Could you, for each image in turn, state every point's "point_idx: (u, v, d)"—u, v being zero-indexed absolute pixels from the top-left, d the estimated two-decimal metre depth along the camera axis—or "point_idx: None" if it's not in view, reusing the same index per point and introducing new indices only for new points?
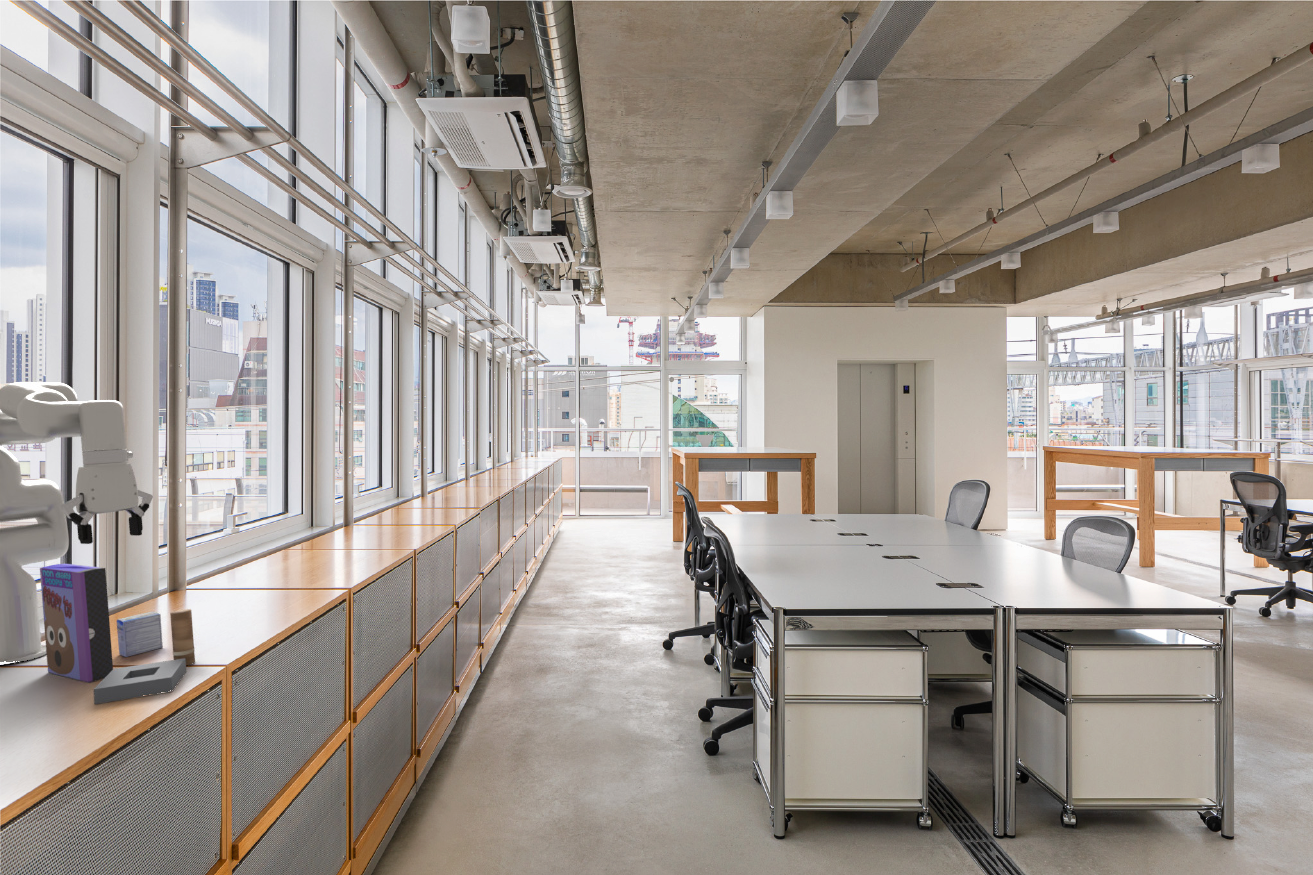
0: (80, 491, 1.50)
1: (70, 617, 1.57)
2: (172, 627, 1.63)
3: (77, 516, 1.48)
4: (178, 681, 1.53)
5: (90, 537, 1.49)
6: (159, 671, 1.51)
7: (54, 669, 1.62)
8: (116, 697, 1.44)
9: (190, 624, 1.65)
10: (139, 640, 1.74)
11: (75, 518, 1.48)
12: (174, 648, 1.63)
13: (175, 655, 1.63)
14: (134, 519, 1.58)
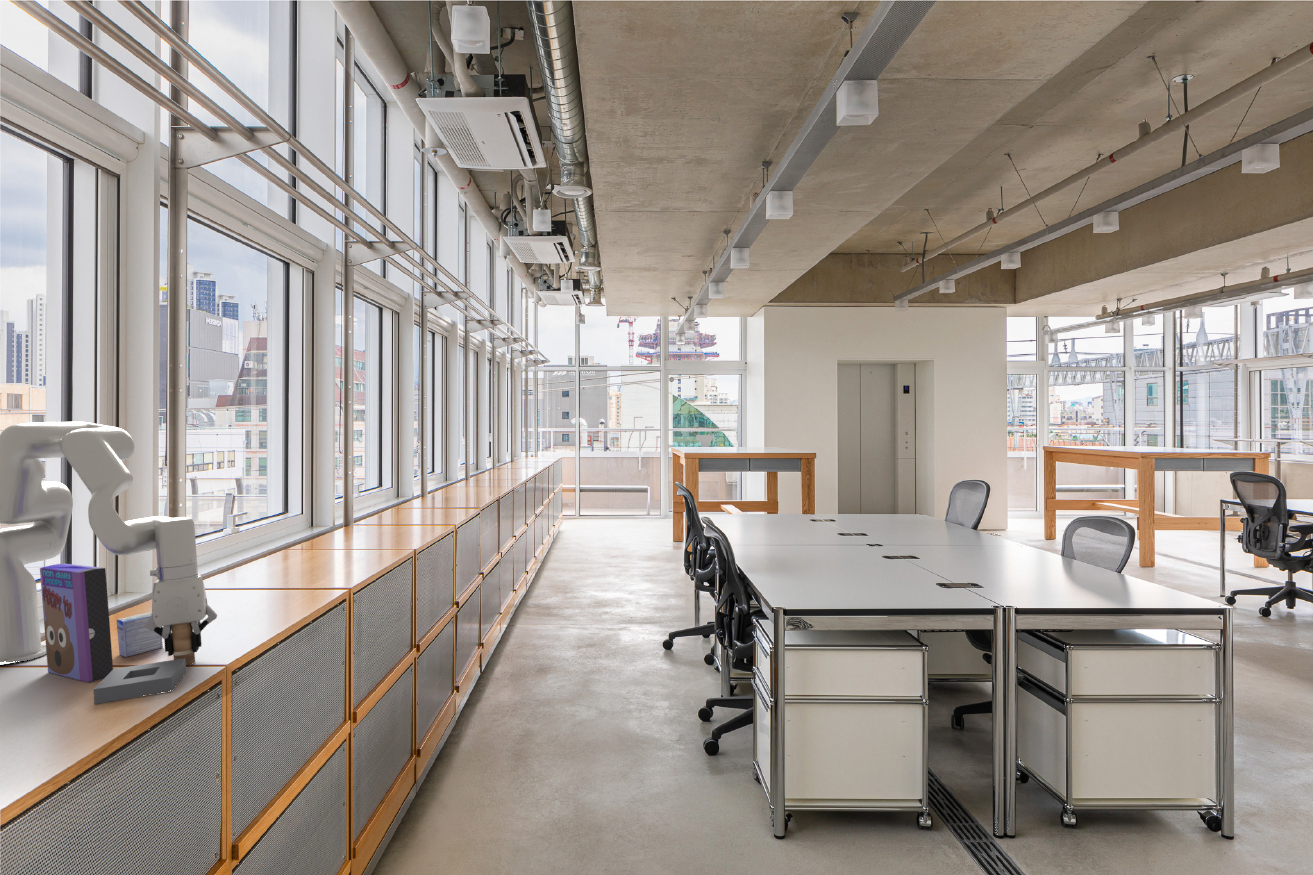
0: (205, 597, 1.66)
1: (70, 617, 1.57)
2: (172, 627, 1.63)
3: None
4: (178, 681, 1.53)
5: None
6: (159, 671, 1.51)
7: (54, 669, 1.62)
8: (116, 697, 1.44)
9: (190, 624, 1.65)
10: (139, 640, 1.74)
11: None
12: (174, 648, 1.63)
13: (175, 655, 1.63)
14: None
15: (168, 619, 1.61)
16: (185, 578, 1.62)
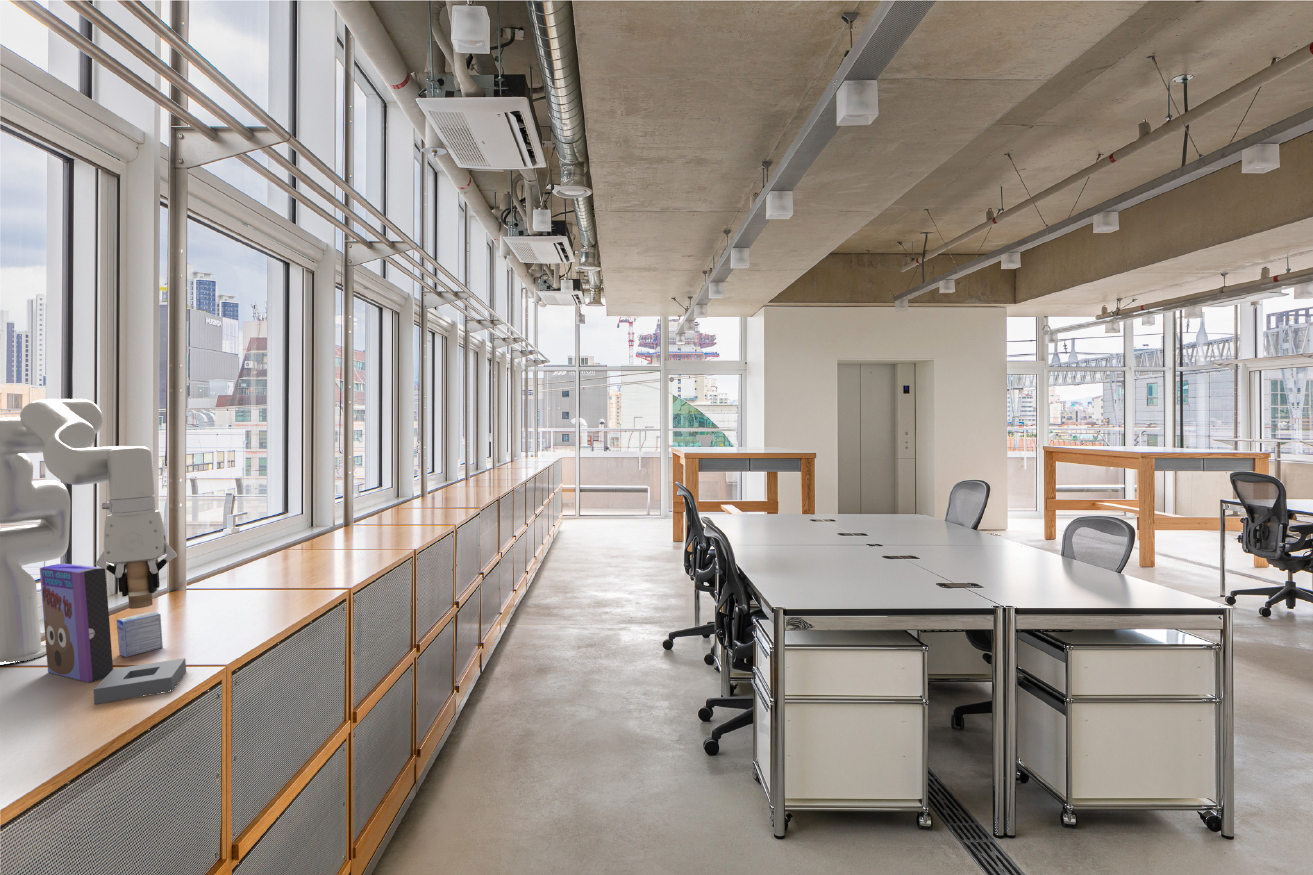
0: (163, 533, 1.53)
1: (70, 617, 1.57)
2: (127, 565, 1.50)
3: None
4: (178, 681, 1.53)
5: None
6: (159, 671, 1.51)
7: (54, 669, 1.62)
8: (116, 697, 1.44)
9: (147, 563, 1.51)
10: (139, 640, 1.74)
11: None
12: (129, 588, 1.50)
13: (130, 596, 1.50)
14: None
15: (122, 556, 1.48)
16: (140, 511, 1.49)
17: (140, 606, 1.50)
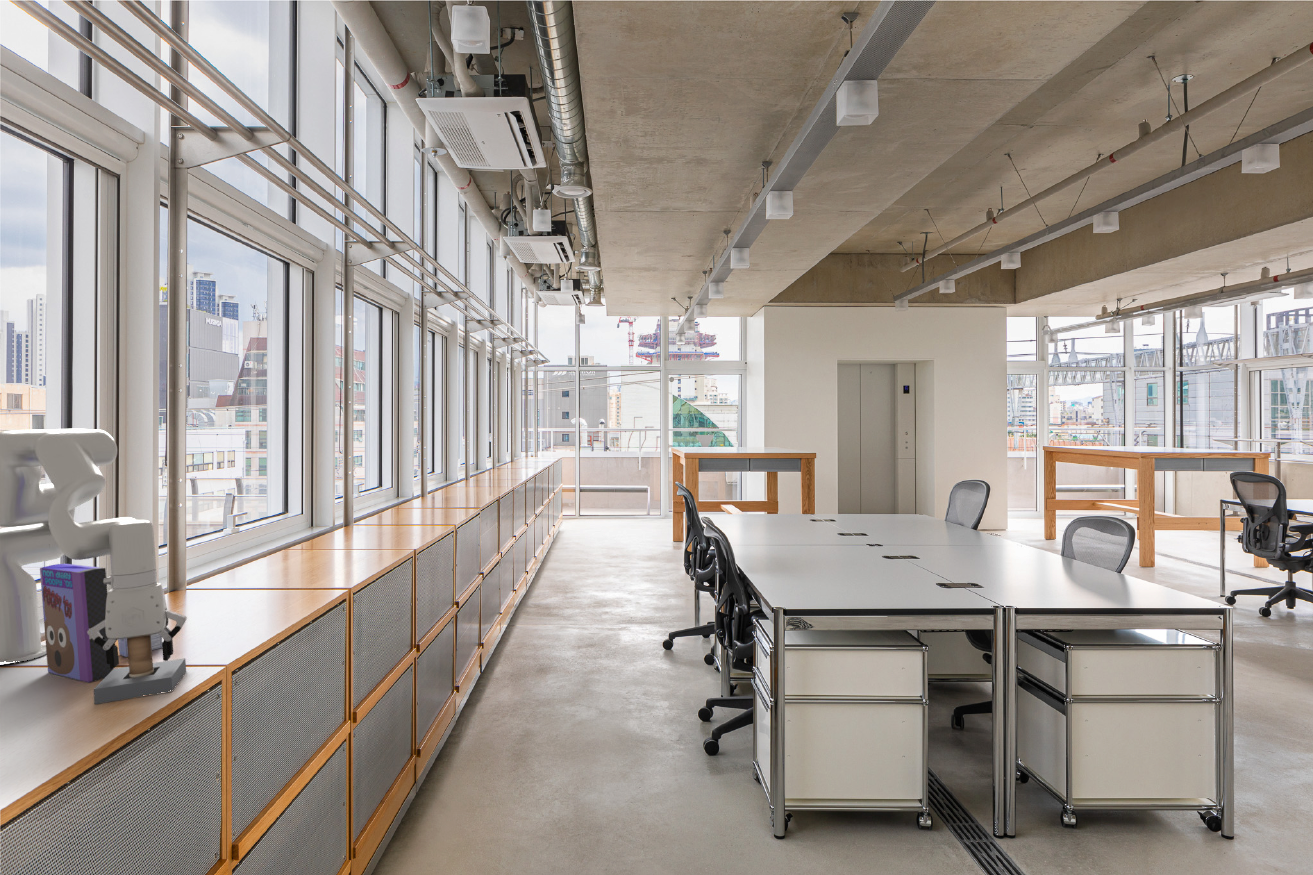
0: (165, 607, 1.52)
1: (70, 617, 1.57)
2: (128, 647, 1.49)
3: None
4: (178, 681, 1.53)
5: None
6: (159, 671, 1.51)
7: (54, 669, 1.62)
8: (116, 697, 1.44)
9: (148, 644, 1.51)
10: None
11: None
12: (130, 670, 1.49)
13: None
14: (116, 648, 1.50)
15: (123, 632, 1.47)
16: (142, 587, 1.48)
17: None
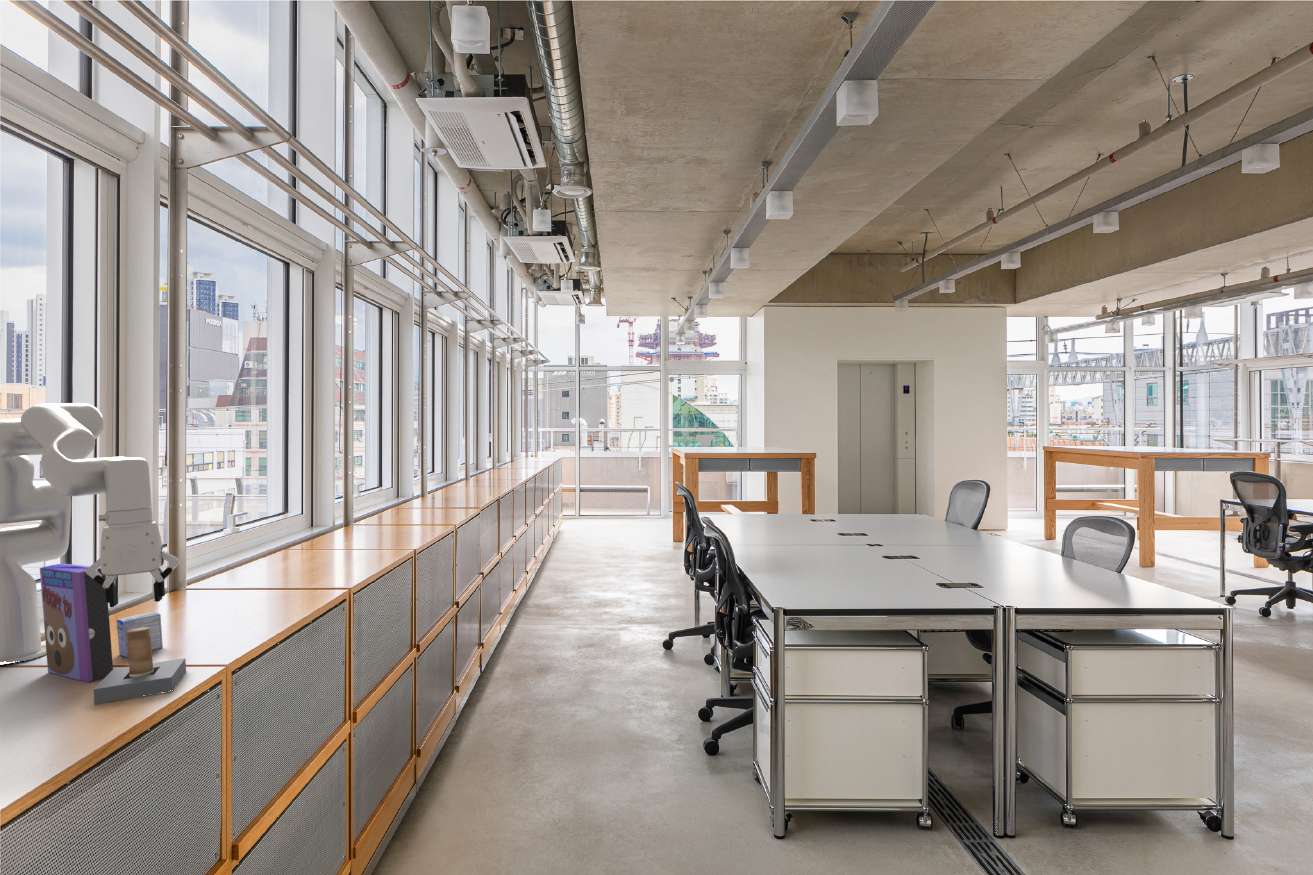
0: (161, 545, 1.52)
1: (70, 617, 1.57)
2: (128, 647, 1.49)
3: None
4: (178, 681, 1.53)
5: None
6: (159, 671, 1.51)
7: (54, 669, 1.62)
8: (116, 697, 1.44)
9: (148, 644, 1.51)
10: None
11: None
12: (130, 670, 1.49)
13: None
14: (115, 587, 1.50)
15: (118, 568, 1.47)
16: (137, 523, 1.48)
17: None
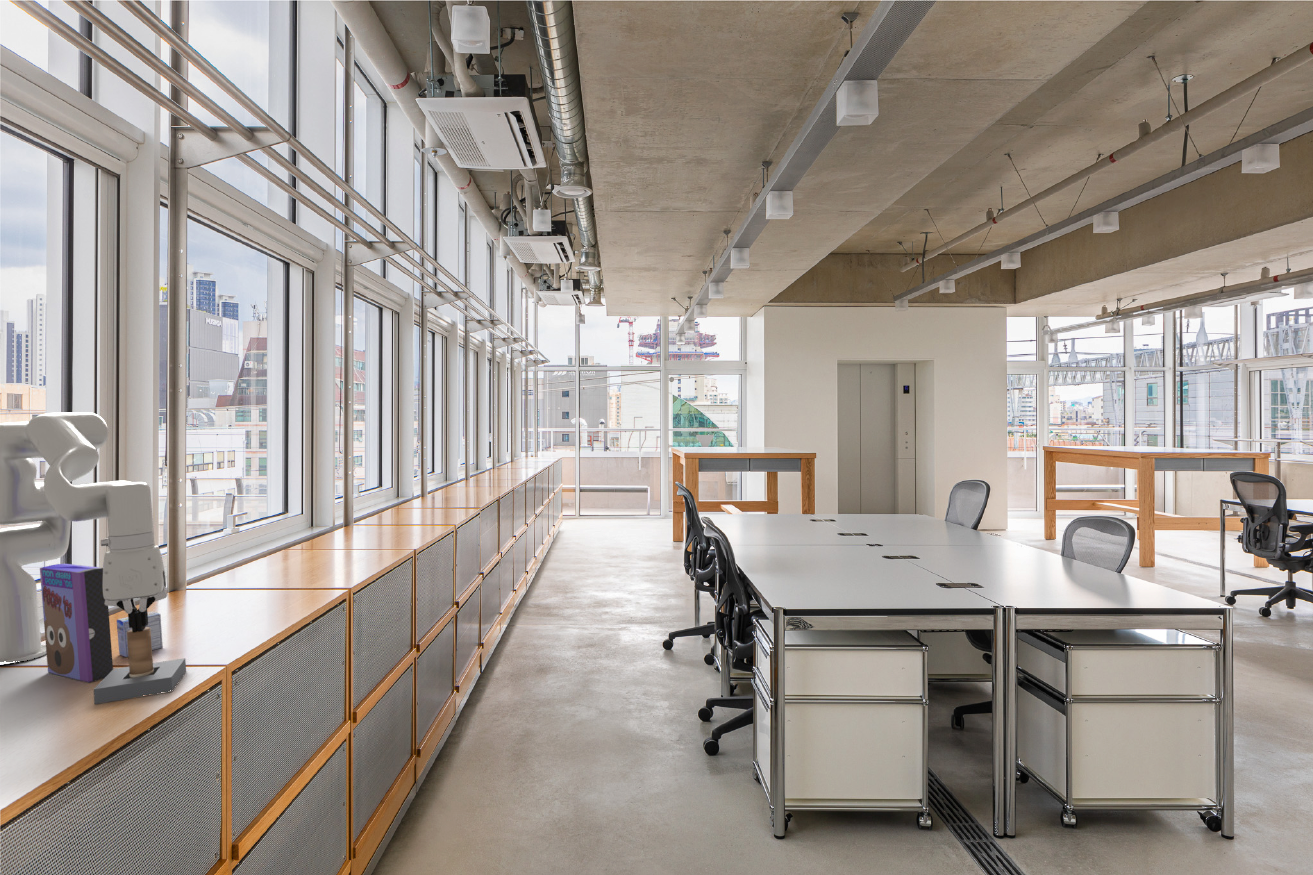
0: (163, 569, 1.52)
1: (70, 617, 1.57)
2: (129, 647, 1.49)
3: None
4: (178, 681, 1.53)
5: None
6: (159, 671, 1.51)
7: (54, 669, 1.62)
8: (116, 697, 1.44)
9: (149, 644, 1.51)
10: None
11: None
12: (130, 670, 1.49)
13: None
14: None
15: (120, 593, 1.47)
16: (139, 548, 1.48)
17: None
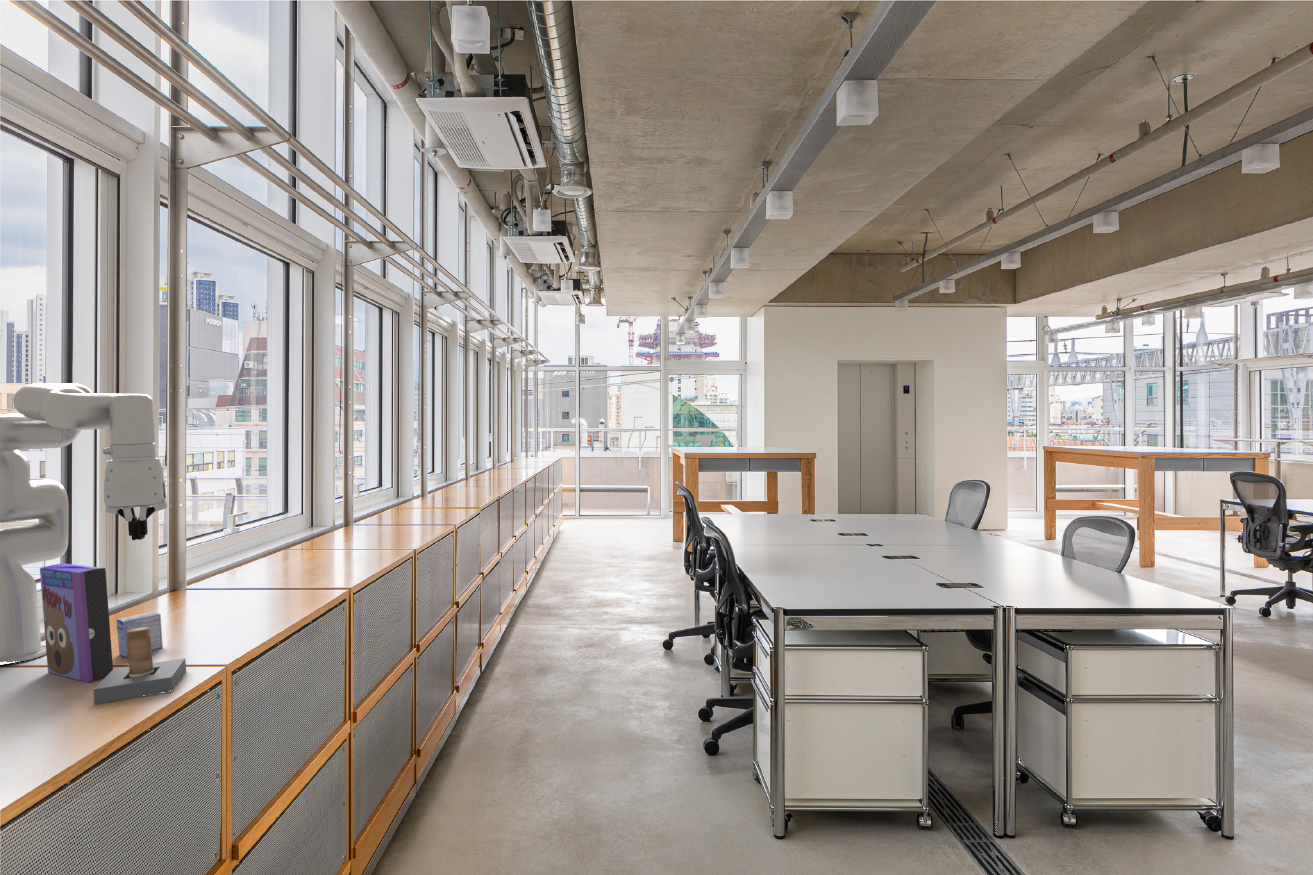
0: (163, 481, 1.55)
1: (70, 617, 1.57)
2: (128, 647, 1.49)
3: None
4: (178, 681, 1.53)
5: None
6: (159, 671, 1.51)
7: (54, 669, 1.62)
8: (116, 697, 1.44)
9: (148, 644, 1.51)
10: None
11: None
12: (130, 670, 1.49)
13: None
14: None
15: (121, 501, 1.51)
16: (140, 458, 1.51)
17: None
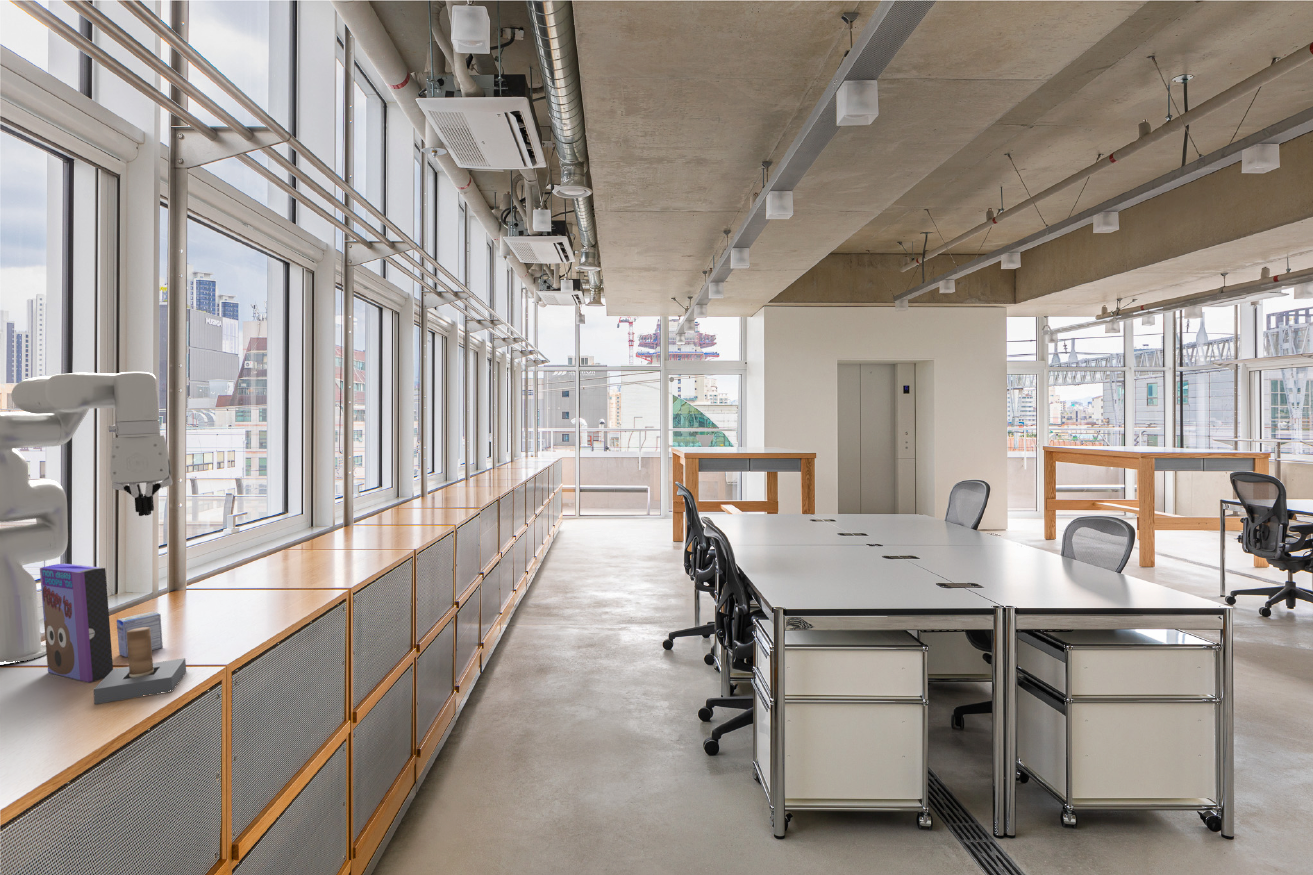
0: (168, 457, 1.58)
1: (70, 617, 1.57)
2: (128, 647, 1.49)
3: None
4: (178, 681, 1.53)
5: None
6: (159, 671, 1.51)
7: (54, 669, 1.62)
8: (116, 697, 1.44)
9: (148, 644, 1.51)
10: None
11: None
12: (130, 670, 1.49)
13: None
14: None
15: (127, 477, 1.53)
16: (146, 434, 1.54)
17: None
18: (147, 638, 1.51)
